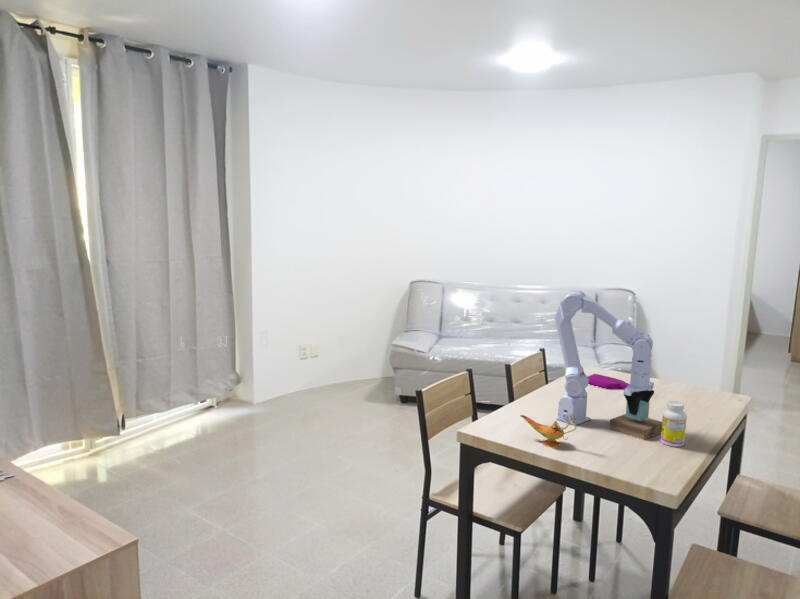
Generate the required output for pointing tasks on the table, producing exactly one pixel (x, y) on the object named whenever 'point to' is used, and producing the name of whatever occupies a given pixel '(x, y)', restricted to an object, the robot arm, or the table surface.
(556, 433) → the magic lamp
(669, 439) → the supplement bottle
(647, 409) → the teal cube
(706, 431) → the table surface
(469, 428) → the table surface
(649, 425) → the walnut base
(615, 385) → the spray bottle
